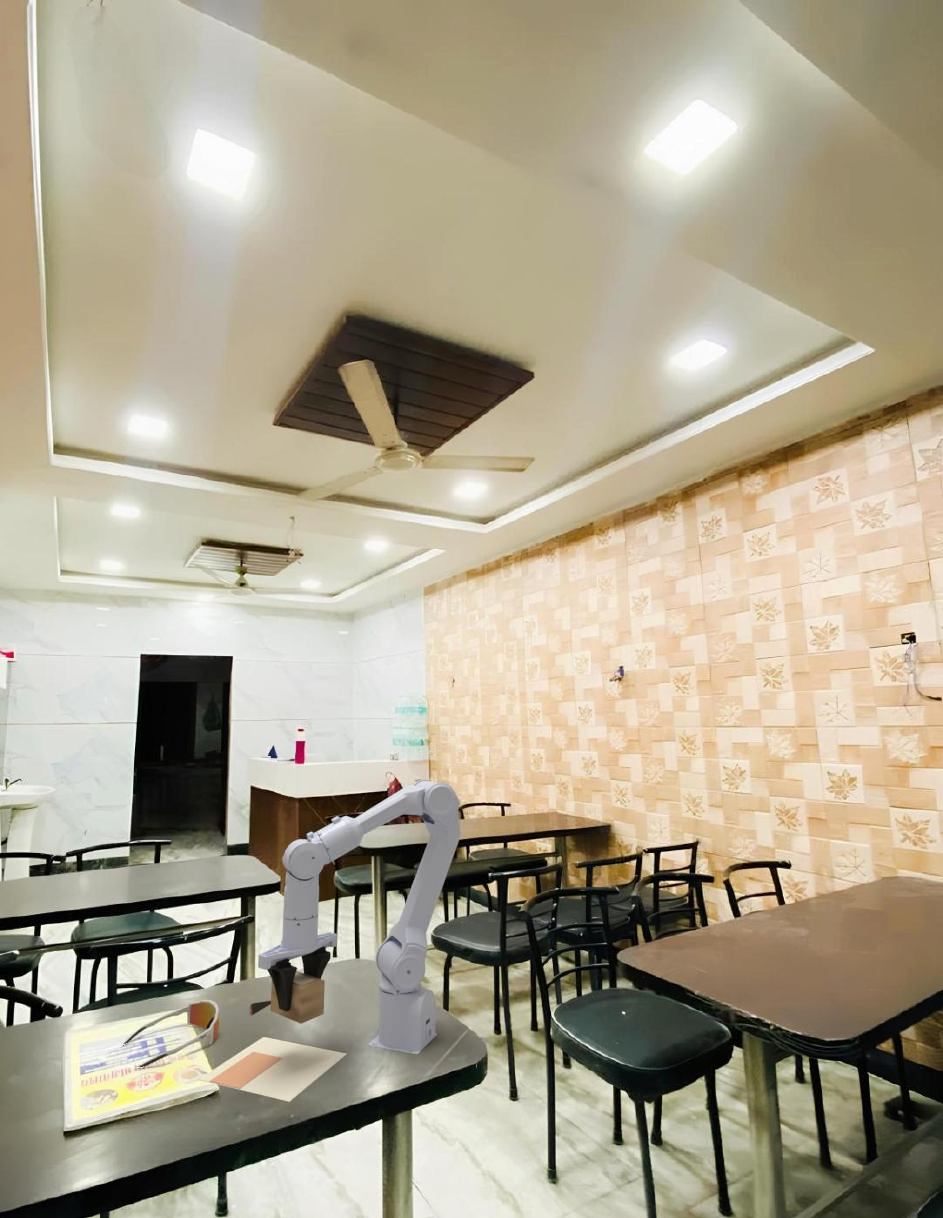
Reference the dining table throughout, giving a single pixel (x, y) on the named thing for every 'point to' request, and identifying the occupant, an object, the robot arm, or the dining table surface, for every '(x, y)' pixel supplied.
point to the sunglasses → (197, 1015)
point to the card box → (302, 999)
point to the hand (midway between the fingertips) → (297, 1004)
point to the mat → (274, 1068)
